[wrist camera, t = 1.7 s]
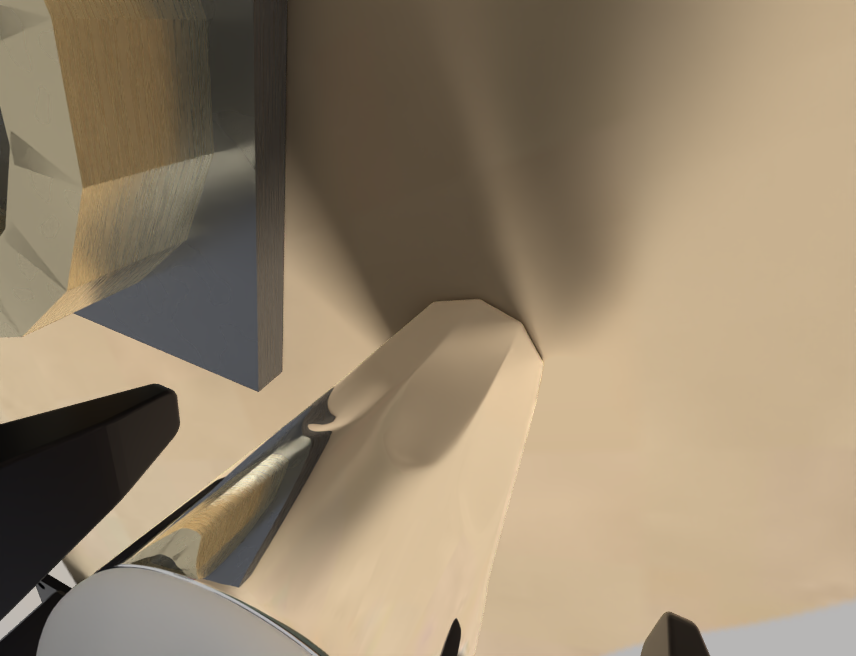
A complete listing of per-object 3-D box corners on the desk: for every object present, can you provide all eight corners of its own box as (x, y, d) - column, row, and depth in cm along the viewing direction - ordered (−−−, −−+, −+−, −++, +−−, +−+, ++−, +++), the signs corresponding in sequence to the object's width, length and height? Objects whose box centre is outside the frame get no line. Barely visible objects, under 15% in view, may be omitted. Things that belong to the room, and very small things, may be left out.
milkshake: (378, 437, 15) (-12, 954, 6) (382, 247, 12) (-277, 725, 4) (548, 495, 13) (326, 1242, 5) (597, 294, 11) (287, 1206, 2)
